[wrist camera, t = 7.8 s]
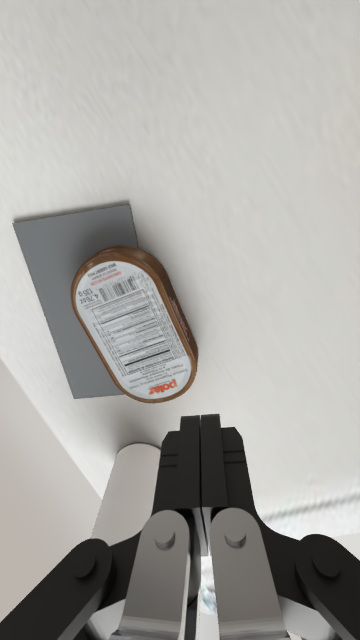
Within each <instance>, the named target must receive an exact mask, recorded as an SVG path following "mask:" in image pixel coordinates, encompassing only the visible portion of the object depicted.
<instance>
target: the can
mask: <svg viewBox="0 0 360 640" xmlns="http://www.w3.org/2000/svg"><path fill="white" fill-rule="evenodd" d="M160 453H161V450H160V449H159V448H157V447H155V446H153V445H150V444H146V443H135V444H131V445H129V446H127V447H125V448H123V449H122V450H121V451H120V452H119V453H118V454H117V456H116V459H115V462H114V465H113V468H112V471H111V474H110V478H109V481H108V484H107V487H106V490H105V493H104V497H103V500H102V503H101V506H100V510H99V513H98V516H97V519H96V522H95V526H94V529H93V532H92V536H91V539H92V538H98V539H101V540H103V541H105V542H106V543H107V544H108V546H111V545H114V544H116V543H119V542H121V541H124V540H126V539H129V538H131V537H133V536H134V535H136V534H137V533H138V532H140V531H141V530H142V529H143V527H144V525H145V523H146V522H147V521H148V519H149V518H150V516H151V513H152V508H153V501H154V494H155V487H156V481H157V474H158V468H159V460H160Z"/></svg>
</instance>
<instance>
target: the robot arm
mask: <svg viewBox="0 0 360 640" xmlns="http://www.w3.org/2000/svg"><path fill="white" fill-rule="evenodd" d="M208 544H209V550H210V555H211V556H212V565H213V575H214V585H215V595H216V604H217V614H218V624H219V635H220V640H291V638H290V636H289V634H288V633H287V631H289V632H291V633H294V634H296V635H298V636H300V637H301V639H302V640H360V561H359V560H358V559H357V558H356V557H355V556H354V555H352V554H351V553H350V552H349V551H348V550H347V549H346V548H344V547H343V546H342V545H341V544H340V543H338V542H337V541H335V540H334V539H332V538H330V537H328V536H325V535H321V534H311V535H307V536H305V537H304V538H302V539H301V540H300V541H299V540H296V539H293V538H290V537H287V536H284V535H281V534H279V533H277V532H275V531H273V530H271V529H270V528H269V527H267V526H266V525H265V524H264V523H263V521H262V520H261V519H260V517H259V516H258V514H257V512H256V509H255V506H254V501H253V495H252V490H251V484H250V478H249V473H248V467H247V462H246V456H245V451H244V445H243V440H242V437H241V435H240V434H239V432H238V431H237V430H236V428H235V427H227V428H221V424H220V416H219V414H208V415H201V419H200V415H196V416H182V417H181V423H180V431H169V432H168V434H167V435H166V437H165V438H164V440H163V442H162V446H161V453H160V460H159V468H158V474H157V481H156V487H155V494H154V501H153V508H152V513H151V516H150V518H149V519H148V521H147V522H146V523H145V525H144V527H143V529H142V530H141V531H140V532H138V533H137V534H136V535H134V536H133V537H131V538H129V539H126V540H124V541H121V542H119V543H116V544H114V545H111V546H108V544H107V543H106V542H105V541H103V540H101V539H98V538H92V539H88V540H85V541H83V542H81V543H80V544H78V545H77V546H76V547H75V548H74V549H72V550H71V552H69V554H67V555H66V556H65V558H64V559H63V560H62V561H61V562H60V563H59V564H58V565H57V566H56V567H55V568H54V569H53V570H52V571H51V572H50V573H49V574H48V575H47V576H46V577H45V578H44V579H43V580H42V581H41V582H40V583H39V584H38V585H37V586H36V587H35V588H34V589H33V590H32V591H31V592H30V593H29V594H28V595H27V596H26V597H25V598H24V599H23V600H22V601H21V602H20V603H19V604H18V605H17V606H16V607H15V608H14V609H13V611H11V612H10V613H9V614H8V615H7V616H6V617H5V618H4V619H3V620H2V621H1V623H0V640H198V635H199V616H200V596H201V556H208Z"/></svg>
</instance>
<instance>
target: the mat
mask: <svg viewBox="0 0 360 640" xmlns="http://www.w3.org/2000/svg"><path fill="white" fill-rule="evenodd" d="M12 224H13V227H14V230H15V233H16V235H17V238H18V241H19V244H20V247H21V250H22V252H23V255H24V258H25V261H26V264H27V267H28V269H29V272H30V275H31V278H32V281H33V284H34V286H35V289H36V292H37V295H38V298H39V301H40V303H41V306H42V309H43V312H44V315H45V318H46V320H47V323H48V326H49V329H50V332H51V335H52V338H53V340H54V343H55V346H56V349H57V352H58V355H59V357H60V360H61V363H62V366H63V369H64V372H65V374H66V377H67V380H68V383H69V386H70V389H71V391H72V394H73V397H74V399H80V398H91V397H102V396H113V395H124V393H123V392H122V391H121V390H120V389H119V388H118V387H117V386H116V385H115V383H114V382H113V380H112V378H111V377H110V375H109V373H108V371H107V370H106V368H105V366H104V364H103V363H102V361H101V359H100V357H99V356H98V354H97V352H96V350H95V349H94V347H93V345H92V343H91V341H90V340H89V338H88V336H87V335H86V333H85V331H84V329H83V327H82V326H81V324H80V322H79V321H78V319H77V317H76V315H75V313H74V310H73V308H72V304H71V285H72V281H73V278H74V276H75V274H76V272H77V271H78V269H79V268H80V266H81V265H82V264H83V263H84V262H85V261H86V260H88V259H89V258H90V257H92V256H93V255H94V254H95V253H97V252H98V251H100V250H102V249H105V248H108V247H111V246H130V247H135V248H138V243H137V238H136V233H135V228H134V223H133V218H132V213H131V208H130V204H129V205H122V206H116V207H110V208H104V209H98V210H91V211H85V212H79V213H73V214H67V215H61V216H54V217H48V218H42V219H36V220H30V221H23V222H17V223H12ZM138 249H139V248H138Z"/></svg>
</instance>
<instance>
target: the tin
mask: <svg viewBox="0 0 360 640" xmlns="http://www.w3.org/2000/svg"><path fill="white" fill-rule="evenodd" d="M71 304H72V308H73V310H74V313H75V315H76V317H77V319H78V321H79V322H80V324H81V326H82V327H83V329H84V331H85V333H86V335H87V336H88V338H89V340H90V341H91V343H92V345H93V347H94V349H95V350H96V352H97V354H98V356H99V357H100V359H101V361H102V363H103V364H104V366H105V368H106V370H107V371H108V373H109V375H110V377H111V378H112V380H113V382H114V383H115V385H116V386H117V387H118V388H119V389H120V390H121V391H122V392H123V393H124V394H126V395H127V396H129V397H131V398H133V399H135V400H138V401H141V402H145V403H160V402H165V401H169V400H172V399H175V398H177V397H179V396H181V395H182V394H184V393H185V392H186V391H187V390H188V389H189V388H190V386H191V385H192V383H193V381H194V379H195V376H196V372H197V362H198V349H197V345H196V342H195V340H194V337H193V335H192V333H191V330H190V328H189V326H188V323H187V321H186V319H185V316H184V314H183V312H182V309H181V307H180V305H179V302H178V300H177V297H176V295H175V293H174V290H173V288H172V285H171V283H170V280H169V278H168V275H167V273H166V271H165V270H164V268H163V267H162V266H161V264H160V263H159V262H158V261H157V260H156V259H155V258H154V257H153V256H151V255H150V254H148V253H146V252H145V251H143V250H141V249H138V248H135V247H130V246H111V247H108V248H105V249H102V250H100V251H98V252H97V253H95V254H94V255H93V256H92V257H90V258H89V259H88V260H86V261H85V262H84V263H83V264H82V265H81V266H80V268H79V269H78V271H77V272H76V274H75V276H74V278H73V281H72V285H71Z"/></svg>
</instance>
